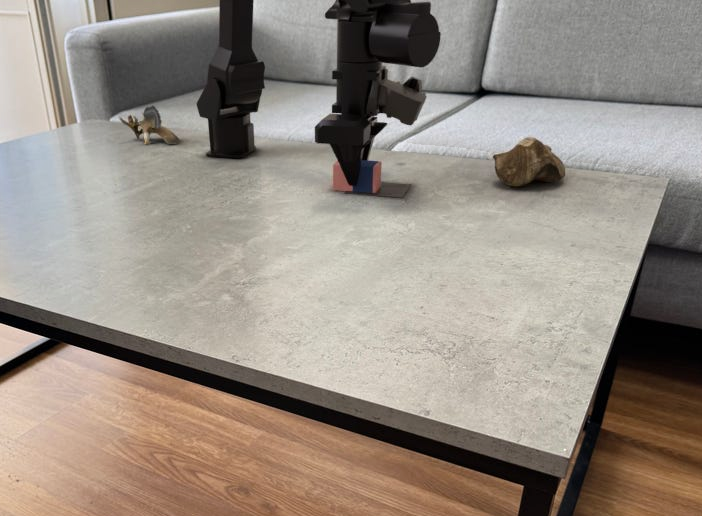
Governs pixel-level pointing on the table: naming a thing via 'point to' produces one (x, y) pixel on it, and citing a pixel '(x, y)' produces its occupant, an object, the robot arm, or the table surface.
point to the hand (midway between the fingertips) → (356, 181)
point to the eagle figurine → (150, 126)
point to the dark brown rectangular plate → (387, 190)
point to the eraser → (366, 181)
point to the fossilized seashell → (528, 163)
